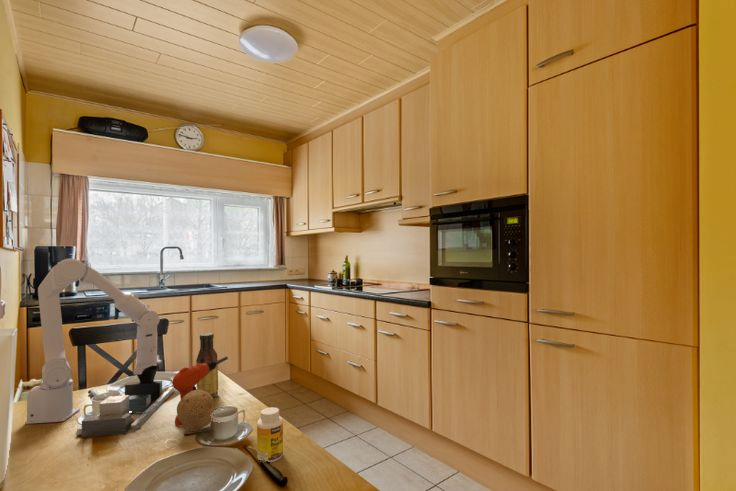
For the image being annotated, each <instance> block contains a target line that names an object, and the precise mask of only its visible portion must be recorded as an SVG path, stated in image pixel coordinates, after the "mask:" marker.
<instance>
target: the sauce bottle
mask: <svg viewBox="0 0 736 491" xmlns="http://www.w3.org/2000/svg"><path fill="white" fill-rule="evenodd" d="M214 337H215V336H214V333H213V332H202V333H200V334H199V342H200V343H199V344H200V345H199V346H200V347H199V351H198V354H197V357H196V359H195V360H196V362H195V365H196V364H203V363H207V362H210V361H218V353H217V351H216V350H215V348H214ZM196 389H197V390H202V391H205V392H207V393H209V394H210V395H211V396H212V398H213V399H214V398H215V397H217V396H218V395H219V394H218V393H219V392H218V390H219V364H217V366H216V368H215V369H213V370H212V371H210V372H209V374H207V375H206V376H205V377H204V378H203V379H202V380H200V381H199V382H198V383H197V384H196Z"/></svg>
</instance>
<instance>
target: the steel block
mask: <svg viewBox="0 0 736 491" xmlns="http://www.w3.org/2000/svg"><path fill="white" fill-rule="evenodd" d="M98 405H99V410H98V411H99V412H98V413H99V415H111V414H125V413H129V395H123V396H121V395H112V396H111V395H109V396H107V398H105V399H103V400H102V401H101V402H99V404H98Z"/></svg>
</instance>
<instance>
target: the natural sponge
mask: <svg viewBox="0 0 736 491" xmlns="http://www.w3.org/2000/svg"><path fill="white" fill-rule="evenodd" d="M215 406H216V403H215V400H214V398H212V396H211V395H210V394H209V393H207V392H205V391H202V390H194V391H191V392H189V393H188V394H186V395H185V396H184V397H183V398H182V399H181V398H180V400H179V402H178V404H177V405H176V414H177V415H178V418H179V420H180V421H181V423H182V424H183V426H182V427H184V428H186V429H187V430H188V431H191V432H198V431H201V430H202V429H204V428H205V427H206V426H209V425H210V424H211V423H212V421H211V416H210V415H211V413H212V412H213V411H215V409H216V408H215ZM213 413H214V412H213ZM177 415H176V416H177Z"/></svg>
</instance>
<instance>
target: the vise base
mask: <svg viewBox="0 0 736 491" xmlns="http://www.w3.org/2000/svg"><path fill="white" fill-rule="evenodd" d="M174 389H175V388H174V387H173V386H169V387H168V388H167V390H165V391H164V392H162V395H161V396H160V397H159V398H158V399H155V400H154V402H153V403H151V406H150V407H149V408H148V409H147V410H146V411H145V412H144V413H141V415H140V416H139V417H138V418H137V419H136V420H134V422H132V414H131V413H125V414H111V415H97V416H95V415H88V416H87V417H85V418H84V419H82V420H81V426H79V427H78V428H77V431H76V435H77V436H81V438H93V437H95V438H96V437H103V436H106V437H107V436H108V437H109V436H117V435H120V436H121V435H126V434H128V433H129V431H131V432H136V431H138V429H139V428H140V427H141V426H142V425H143V424H144V423H145V422H146V421H147V420H148V419H149V418H150V417H151V416H152V415H153V413H154V412H156V411H157V410H158V409H159V408H160V407H161V405H163V403H164V402H165V401H166V400H167V399H168V398H169V397H170V396H171V395H172V394H173V393H174V392H175V390H174ZM123 395H125V392H123V393H122V394H121V395H120V396H123Z"/></svg>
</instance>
